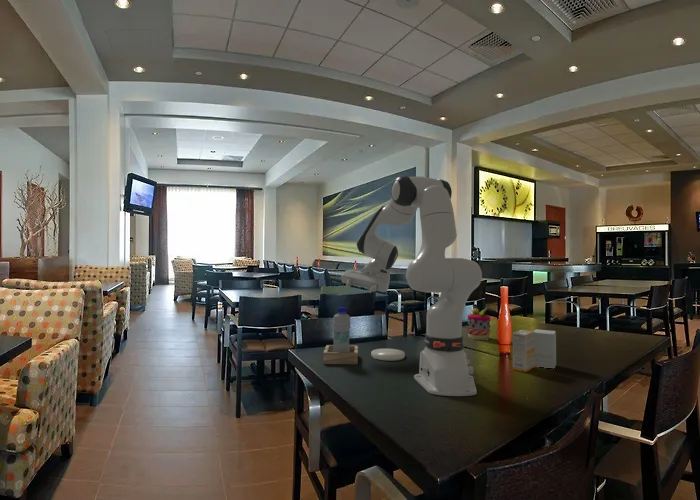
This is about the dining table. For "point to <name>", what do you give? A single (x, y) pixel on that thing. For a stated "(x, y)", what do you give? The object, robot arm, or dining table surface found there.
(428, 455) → the dining table surface
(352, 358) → the box
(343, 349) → the bottle
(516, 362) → the supplement box
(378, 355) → the ceramic plate
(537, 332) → the supplement box
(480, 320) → the cake
